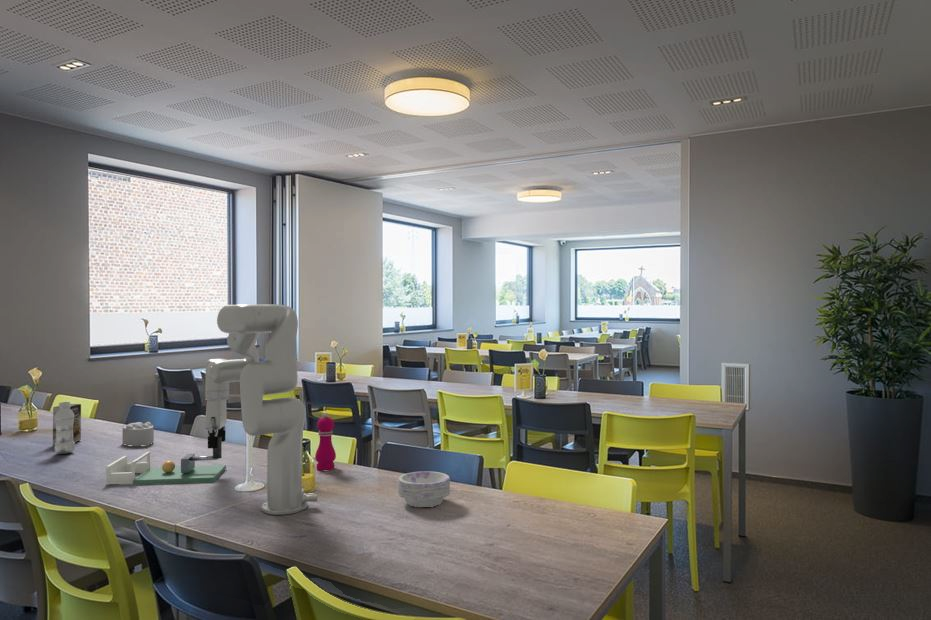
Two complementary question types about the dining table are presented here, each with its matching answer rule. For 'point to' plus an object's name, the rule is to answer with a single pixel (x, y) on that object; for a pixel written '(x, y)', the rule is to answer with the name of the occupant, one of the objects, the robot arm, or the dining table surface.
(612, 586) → the dining table surface
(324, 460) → the pepper mill
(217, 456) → the grey mallet
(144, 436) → the lumpy-topped squat cylinder
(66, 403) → the plastic bottle
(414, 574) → the dining table surface
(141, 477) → the pitch board
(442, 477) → the paper bowls
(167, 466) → the ball
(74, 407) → the coffee box
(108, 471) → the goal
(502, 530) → the dining table surface
